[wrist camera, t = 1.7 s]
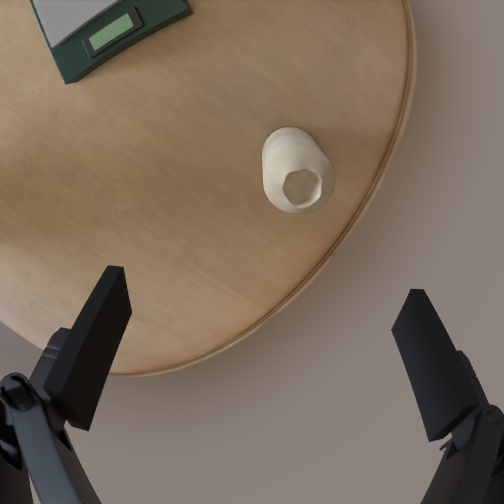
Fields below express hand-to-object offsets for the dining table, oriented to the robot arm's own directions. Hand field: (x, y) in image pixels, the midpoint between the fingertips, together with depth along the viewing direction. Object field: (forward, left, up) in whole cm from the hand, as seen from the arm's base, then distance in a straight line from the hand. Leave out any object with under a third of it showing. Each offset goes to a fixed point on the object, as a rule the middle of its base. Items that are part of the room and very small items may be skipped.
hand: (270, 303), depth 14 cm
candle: (-3, 0, -21) cm, 21 cm away
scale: (+7, -25, -21) cm, 33 cm away
